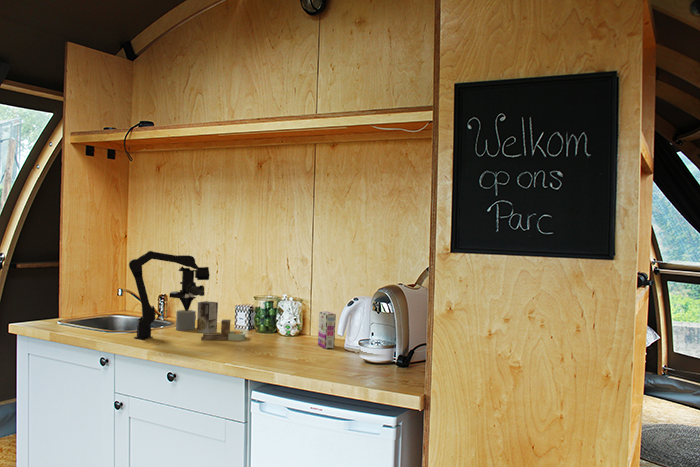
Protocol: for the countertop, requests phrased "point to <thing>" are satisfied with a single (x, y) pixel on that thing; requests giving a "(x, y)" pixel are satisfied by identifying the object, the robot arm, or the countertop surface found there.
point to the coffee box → (207, 317)
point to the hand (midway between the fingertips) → (186, 310)
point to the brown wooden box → (225, 328)
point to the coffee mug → (185, 320)
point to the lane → (213, 337)
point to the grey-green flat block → (236, 336)
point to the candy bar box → (326, 330)
